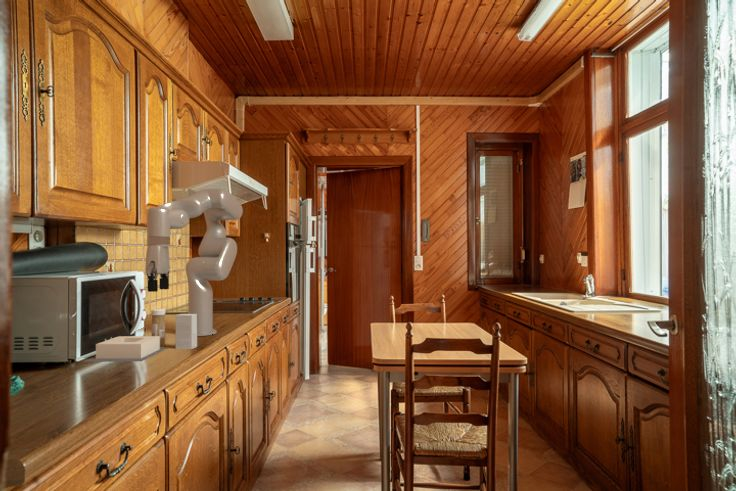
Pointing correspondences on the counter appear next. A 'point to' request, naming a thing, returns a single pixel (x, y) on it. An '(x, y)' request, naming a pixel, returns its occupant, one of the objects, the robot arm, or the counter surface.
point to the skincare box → (186, 331)
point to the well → (127, 347)
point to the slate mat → (125, 358)
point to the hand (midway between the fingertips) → (158, 290)
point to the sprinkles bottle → (158, 324)
